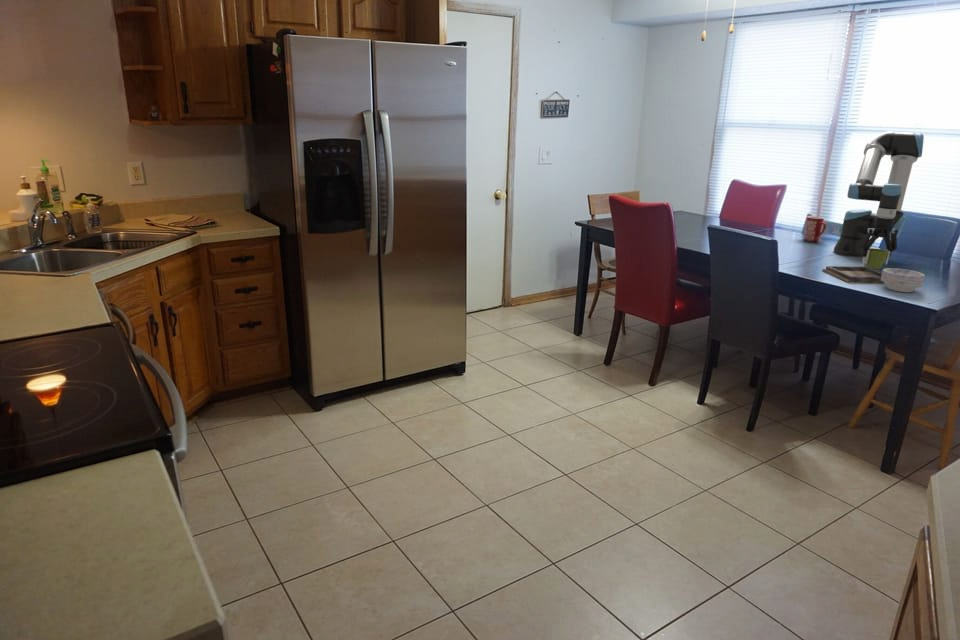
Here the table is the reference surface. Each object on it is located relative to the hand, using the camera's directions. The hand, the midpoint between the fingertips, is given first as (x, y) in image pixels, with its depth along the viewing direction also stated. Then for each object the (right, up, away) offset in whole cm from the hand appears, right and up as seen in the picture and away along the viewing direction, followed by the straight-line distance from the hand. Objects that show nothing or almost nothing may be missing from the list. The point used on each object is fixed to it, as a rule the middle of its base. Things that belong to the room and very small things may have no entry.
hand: (874, 263), depth 306 cm
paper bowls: (-12, -15, -36) cm, 40 cm away
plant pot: (0, -2, +1) cm, 2 cm away
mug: (+2, +18, +59) cm, 62 cm away
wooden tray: (-18, -8, -17) cm, 26 cm away
